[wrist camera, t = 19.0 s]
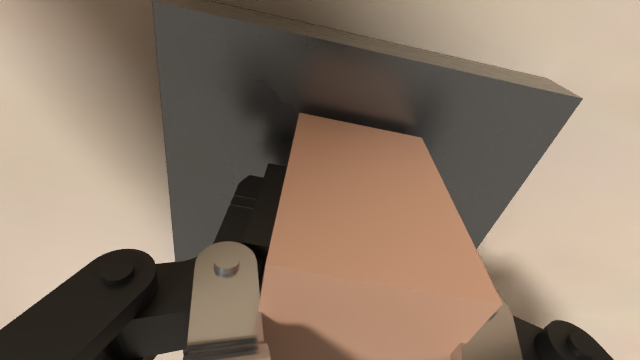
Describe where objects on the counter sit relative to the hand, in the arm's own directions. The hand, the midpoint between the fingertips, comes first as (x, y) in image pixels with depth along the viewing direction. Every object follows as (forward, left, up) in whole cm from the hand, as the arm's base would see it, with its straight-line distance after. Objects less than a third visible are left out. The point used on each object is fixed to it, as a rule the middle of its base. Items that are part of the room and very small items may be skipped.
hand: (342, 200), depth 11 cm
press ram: (0, 0, -1) cm, 1 cm away
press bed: (+7, 0, -3) cm, 8 cm away
